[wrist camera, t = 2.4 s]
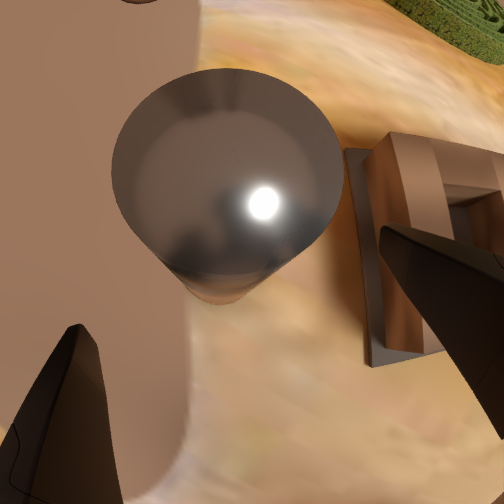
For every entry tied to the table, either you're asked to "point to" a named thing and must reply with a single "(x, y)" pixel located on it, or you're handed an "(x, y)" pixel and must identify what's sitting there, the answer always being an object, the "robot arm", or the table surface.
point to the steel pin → (227, 178)
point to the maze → (461, 24)
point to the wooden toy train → (138, 1)
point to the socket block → (419, 224)
